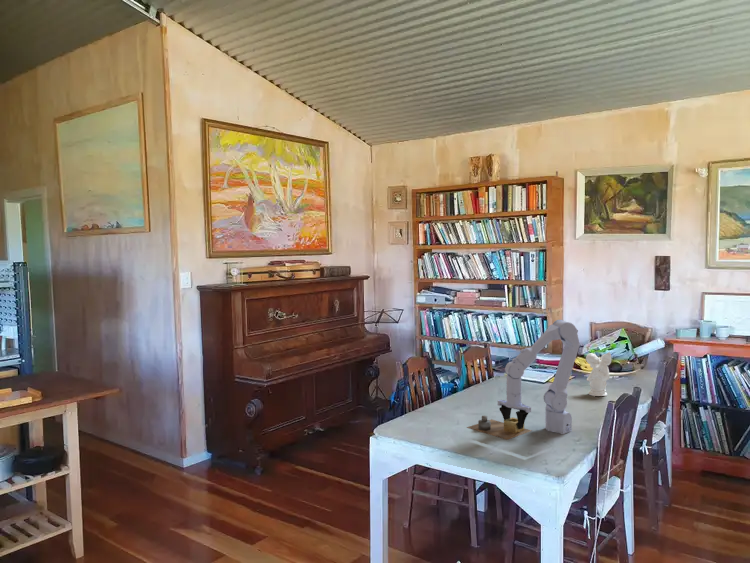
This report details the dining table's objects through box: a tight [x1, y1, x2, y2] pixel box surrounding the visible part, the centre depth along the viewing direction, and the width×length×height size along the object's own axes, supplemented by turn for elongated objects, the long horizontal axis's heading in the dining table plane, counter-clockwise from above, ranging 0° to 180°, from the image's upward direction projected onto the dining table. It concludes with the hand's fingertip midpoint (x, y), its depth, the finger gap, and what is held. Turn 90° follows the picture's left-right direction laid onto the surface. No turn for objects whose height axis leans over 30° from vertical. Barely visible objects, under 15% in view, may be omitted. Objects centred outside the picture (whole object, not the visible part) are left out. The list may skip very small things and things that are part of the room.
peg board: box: [466, 415, 533, 441], centre depth 226 cm, size 20×16×6 cm
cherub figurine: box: [585, 351, 612, 397], centre depth 281 cm, size 12×12×22 cm
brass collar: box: [503, 417, 525, 434], centre depth 224 cm, size 6×6×4 cm
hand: (513, 426), depth 224 cm, fingers closed on brass collar, 6 cm apart
